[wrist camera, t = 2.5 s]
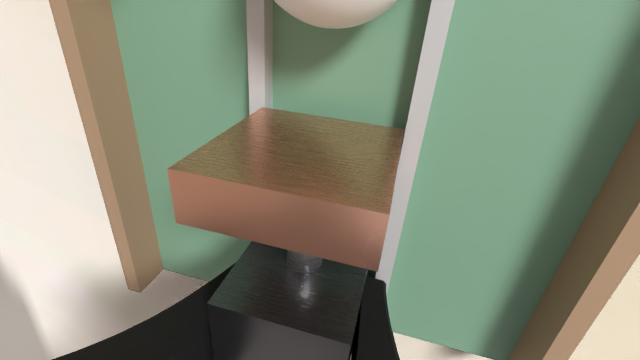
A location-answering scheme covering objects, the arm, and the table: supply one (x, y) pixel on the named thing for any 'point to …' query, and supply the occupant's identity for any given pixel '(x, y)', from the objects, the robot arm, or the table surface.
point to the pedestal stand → (291, 228)
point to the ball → (335, 11)
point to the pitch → (416, 148)
